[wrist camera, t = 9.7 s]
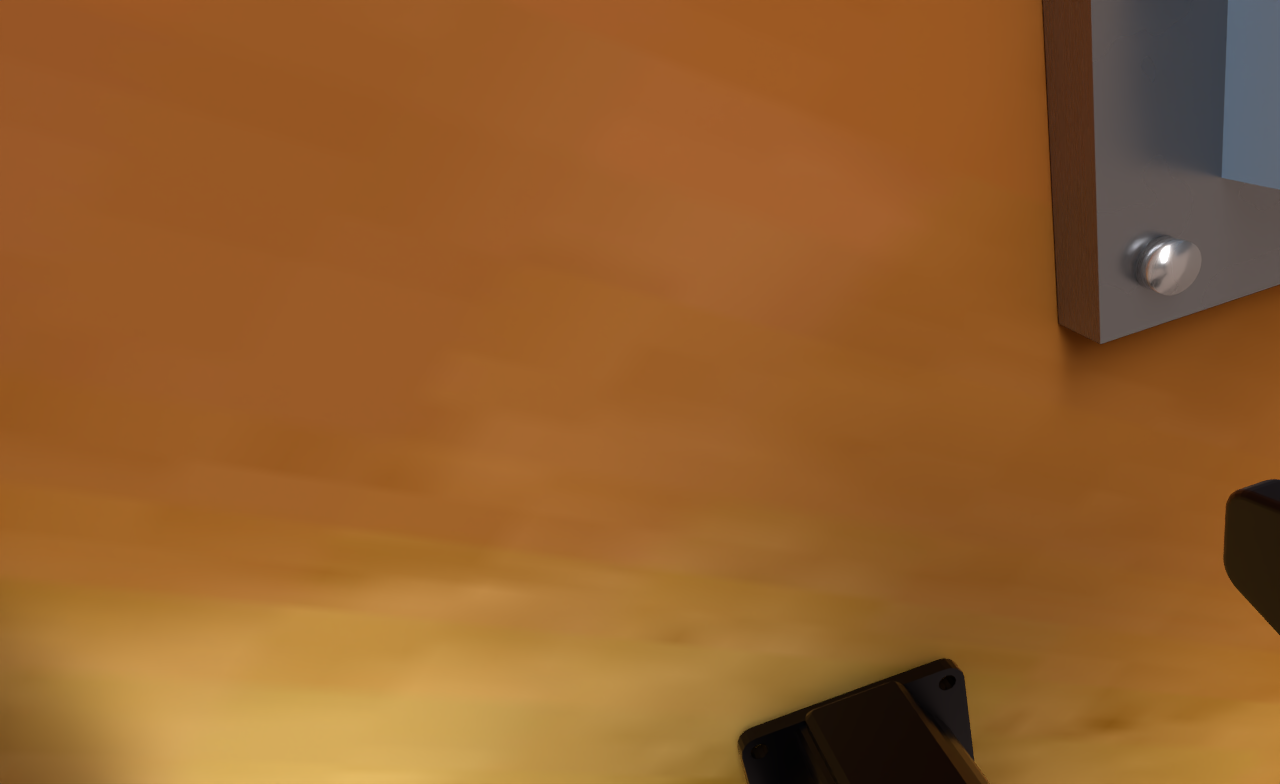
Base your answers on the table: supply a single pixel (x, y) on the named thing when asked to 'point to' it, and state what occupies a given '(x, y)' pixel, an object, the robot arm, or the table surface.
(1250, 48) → the blue square ring
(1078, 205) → the keeper plate
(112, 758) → the table surface
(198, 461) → the table surface
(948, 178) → the table surface
